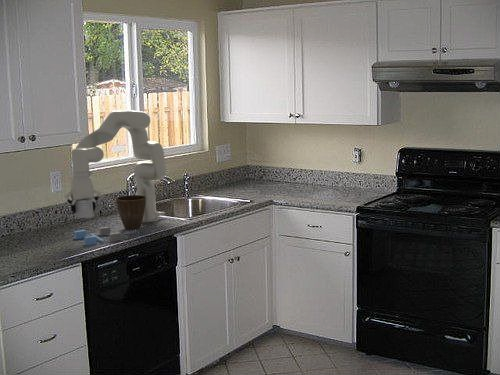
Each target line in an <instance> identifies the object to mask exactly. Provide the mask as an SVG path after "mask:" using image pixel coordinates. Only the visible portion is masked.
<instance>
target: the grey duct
mask: <svg viewBox="0 0 500 375" xmlns="http://www.w3.org/2000/svg"><path fill="white" fill-rule="evenodd" d="M98 235H99V236H100V237H101V236H103V237H104V236H109V237H108V238H109V241H110V242H111V241H113V242H119V241H118V240H120V241H122V239H125V240H129V238H130V237H129V236H128V235H127V234H124V233H123V232H120V231H119V230H116V229H115V230H113V232H112V230H111V227H110V226H104V227H103V226H102V227H98Z"/></svg>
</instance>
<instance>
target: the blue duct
mask: <svg viewBox="0 0 500 375" xmlns="http://www.w3.org/2000/svg"><path fill="white" fill-rule="evenodd" d="M74 239H75V240H80V239H81V240H82V239H84V240H83V241H84V242H83V243H84V245H85V246H91V245H92V246H93V245H98V244H97V241H98V242H100V243H101V244H105V240H104V239H103V238H101V237H99V236H97V235H95V234H94V233H89V236H87V230H85V229H81V230H80V229H79V230H74Z"/></svg>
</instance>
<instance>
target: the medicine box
mask: <svg viewBox="0 0 500 375" xmlns="http://www.w3.org/2000/svg"><path fill="white" fill-rule="evenodd" d="M74 205H75V209H76V213H73V215H74V219H91V218H93V217H94V211H93V201H92V199H82V200H76V202H75V203H74Z"/></svg>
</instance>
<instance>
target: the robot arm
mask: <svg viewBox="0 0 500 375" xmlns="http://www.w3.org/2000/svg"><path fill="white" fill-rule="evenodd" d="M150 125H151V117H150V115H149V114H148V113H147V112H145V111H139V110H127V109H125V110H122V109H121V110H120V109H119V110H115V109H114V110H112V111H111V112H110V113H108V115H107V117H106V118H105V119H104V121H103V122H102V124H101V125H100V126H99V127H98V129H96V130H93V131H92V132H91V133H89V134H87V135H86V136H84V137H83V138H82V139H81V140H80V141H79V143H78V144H77V145H76V147H75V148H72V150H71V167H72V178H71V180H70V190H69V192H68V193H66V194H65V195H64V196H63V198H64V199H65V200H66V202H67V203H69V204H70V210H71V212H72V213H73V214H74V213H76V209H75V205H74V203H75V202H76V200H82V199H92V201H93V212H94V211H95V210H96V203H97V201H98V199H99V197H100V196H101V192H100V191H98V190H96V189H94V183H93V180H92V177H91V175H93V171H91V170H90V163H94V164H95V163H99V162H101V161H102V160H103V159H104V156H105V153H104V150H103V149H102V148H101V147H99V146H101V145H104V144H107V143H109V142H111V141H113V140H114V139H115V136H116V135H117V134H118V133H119V131H120V130H121V129H122V128H124V129H126V130H127V131H128V132H129V134H130V137H131V143H132V150H133V155H134V157H135V158H136V159H137V160H141V161H138V162H137V163H135V165H134V166H133V175H134V179H135V182H136V183H135V184H136V195H141V196H145V197H146V204H145V211H144V216H143V220H142V223H143V224H144V223H153V222H158V221H160V216H165V214H166V212H165V211H157V206H156V205H157V202H156V187H155V183H154V182H153V181H161V180H164V178H166V175H167V165H166V158H165V152H164V148H163V146H162V144H161V143H160V142H158V141H150V139H149V134H148V131H147V128H148V127H149V126H150ZM95 194H96V195H95ZM69 197H70V198H69ZM142 223H141V224H142Z"/></svg>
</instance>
